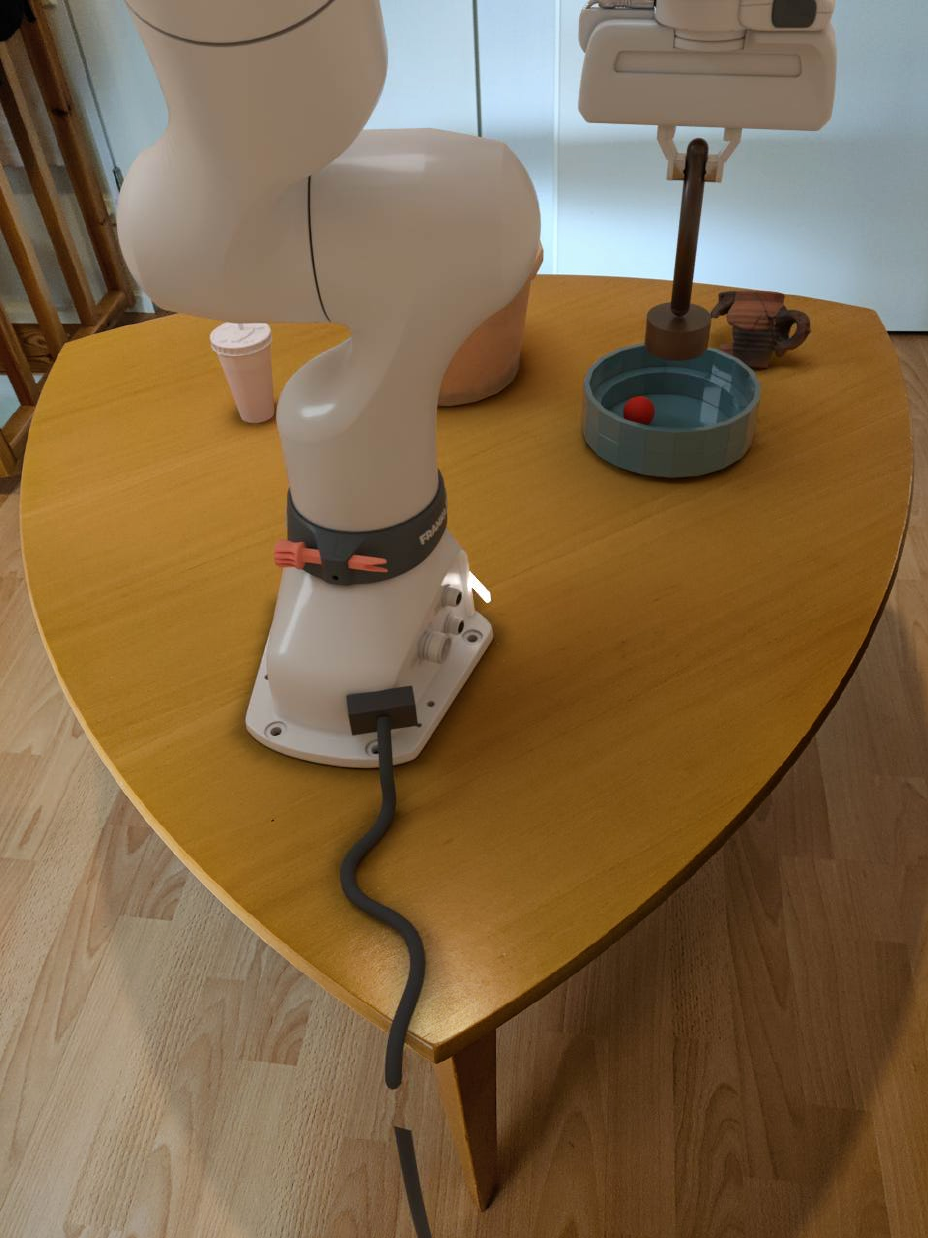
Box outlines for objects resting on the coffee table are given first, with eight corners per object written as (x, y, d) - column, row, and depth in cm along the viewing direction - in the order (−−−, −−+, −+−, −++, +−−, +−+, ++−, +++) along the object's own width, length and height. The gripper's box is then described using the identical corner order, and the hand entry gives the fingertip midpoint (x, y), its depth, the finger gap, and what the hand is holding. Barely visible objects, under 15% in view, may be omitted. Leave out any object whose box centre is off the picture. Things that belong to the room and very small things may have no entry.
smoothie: (292, 398, 111) (270, 278, 102) (279, 430, 107) (254, 307, 97) (236, 398, 112) (209, 278, 102) (221, 429, 107) (191, 307, 98)
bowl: (746, 493, 95) (756, 440, 91) (568, 473, 99) (570, 421, 95) (755, 399, 107) (764, 348, 103) (596, 384, 111) (598, 335, 107)
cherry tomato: (622, 434, 102) (653, 433, 101) (619, 407, 100) (651, 406, 99) (626, 417, 105) (657, 416, 104) (624, 390, 102) (655, 389, 101)
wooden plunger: (704, 363, 93) (733, 152, 80) (640, 357, 95) (658, 149, 81) (709, 332, 97) (738, 127, 84) (648, 327, 99) (666, 124, 86)
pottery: (580, 376, 112) (585, 251, 102) (415, 443, 104) (404, 314, 94) (471, 307, 126) (466, 191, 116) (317, 362, 117) (298, 241, 107)
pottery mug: (690, 365, 114) (696, 289, 112) (725, 368, 121) (732, 297, 119) (793, 367, 106) (802, 286, 105) (824, 370, 114) (833, 295, 112)
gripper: (572, 0, 76) (567, 186, 85) (855, 3, 71) (817, 199, 81) (586, -19, 80) (580, 160, 90) (853, -17, 76) (817, 171, 85)
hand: (694, 179), depth 85 cm, fingers closed on wooden plunger
